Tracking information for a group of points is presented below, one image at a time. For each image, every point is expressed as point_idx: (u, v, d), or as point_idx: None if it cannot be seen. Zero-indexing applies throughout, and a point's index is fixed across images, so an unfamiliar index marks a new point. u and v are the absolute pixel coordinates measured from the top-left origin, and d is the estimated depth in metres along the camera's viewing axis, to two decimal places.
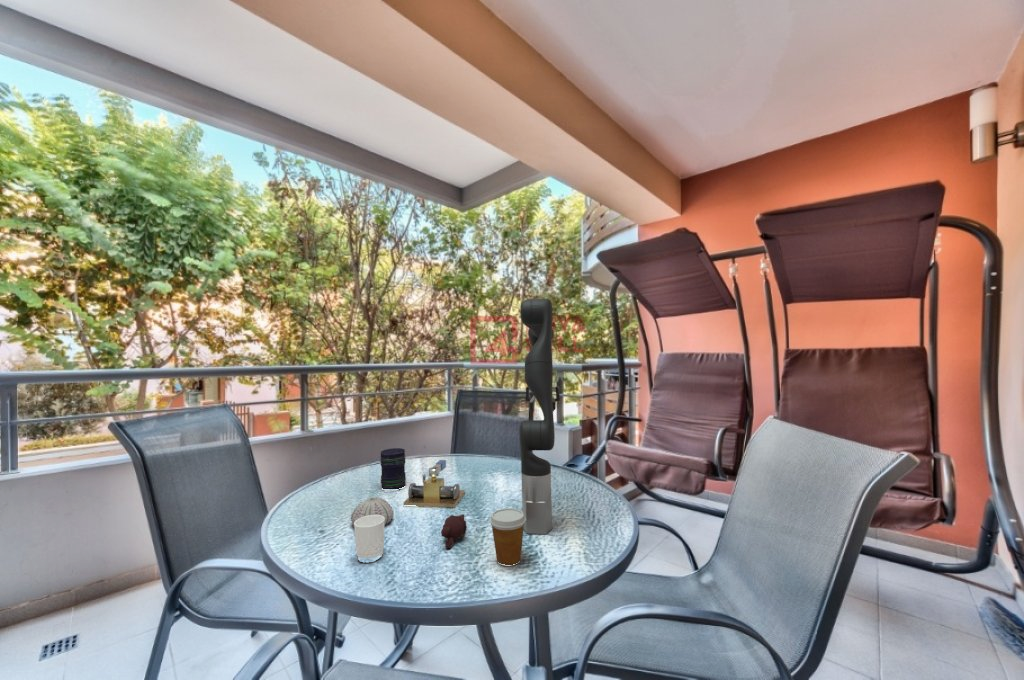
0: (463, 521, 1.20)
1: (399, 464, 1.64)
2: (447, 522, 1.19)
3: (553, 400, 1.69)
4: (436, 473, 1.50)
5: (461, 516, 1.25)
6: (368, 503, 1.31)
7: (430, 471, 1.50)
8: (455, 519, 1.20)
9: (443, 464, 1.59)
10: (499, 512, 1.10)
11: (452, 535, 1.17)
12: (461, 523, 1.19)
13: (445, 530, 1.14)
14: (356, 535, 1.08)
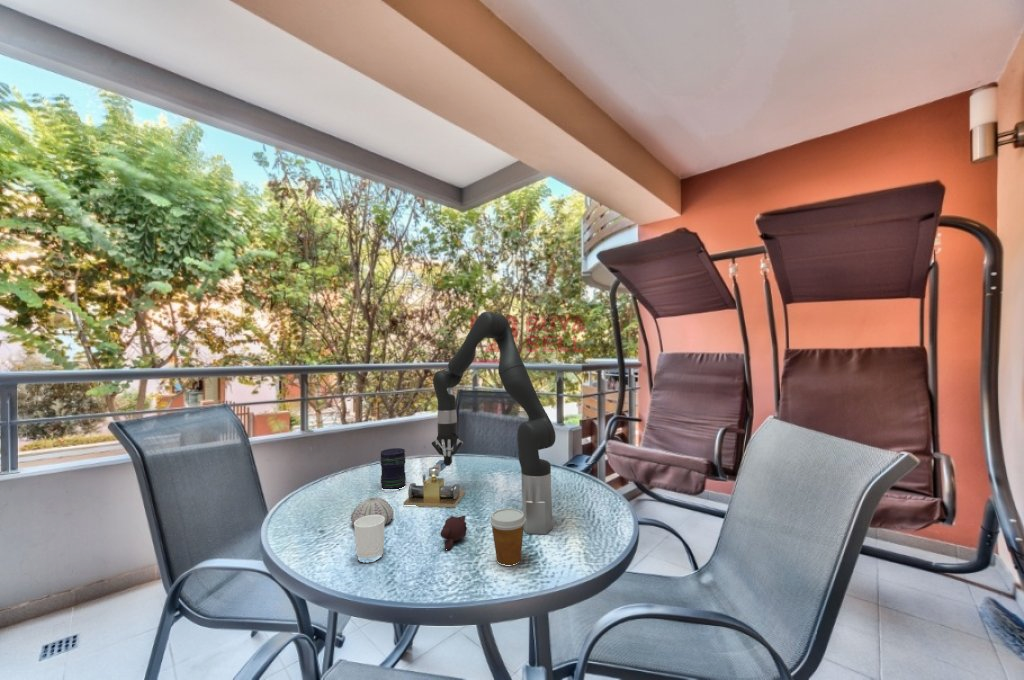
0: (463, 522, 1.19)
1: (399, 465, 1.64)
2: (447, 523, 1.18)
3: (448, 454, 1.58)
4: (436, 473, 1.50)
5: (461, 517, 1.24)
6: (368, 503, 1.31)
7: (430, 471, 1.50)
8: (455, 520, 1.19)
9: (443, 464, 1.59)
10: (499, 512, 1.10)
11: (452, 536, 1.16)
12: (461, 524, 1.18)
13: (444, 531, 1.14)
14: (356, 535, 1.08)
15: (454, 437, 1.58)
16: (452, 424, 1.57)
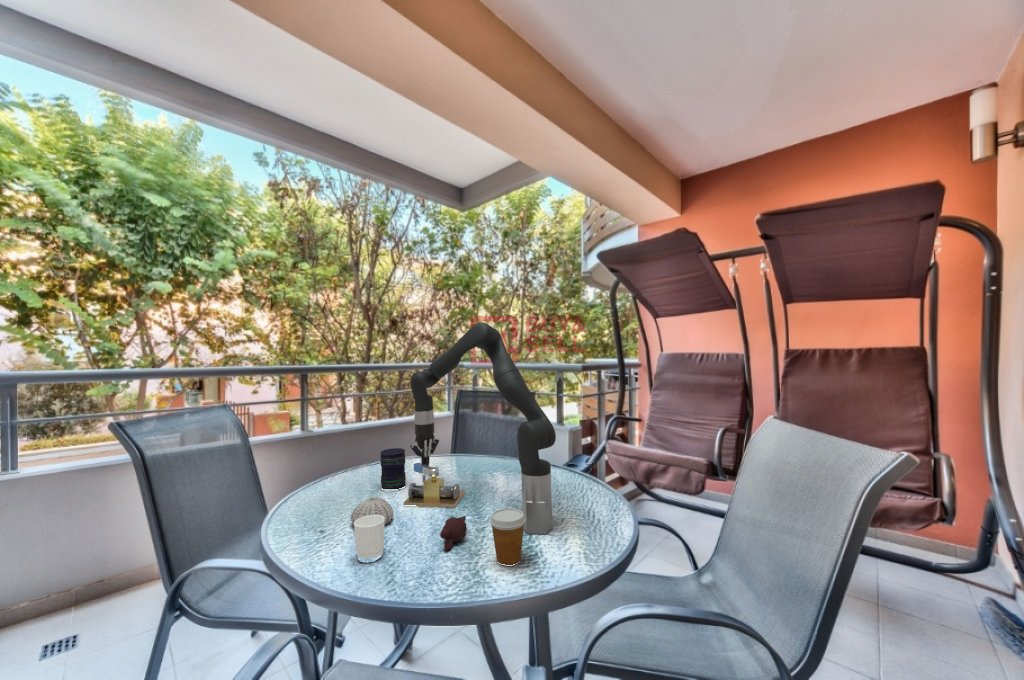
0: (463, 523, 1.19)
1: (399, 465, 1.64)
2: (447, 524, 1.18)
3: (428, 454, 1.59)
4: (438, 472, 1.51)
5: (462, 518, 1.23)
6: (368, 503, 1.31)
7: (434, 471, 1.50)
8: (455, 521, 1.18)
9: None
10: (499, 512, 1.10)
11: (451, 537, 1.16)
12: (461, 525, 1.18)
13: (444, 532, 1.13)
14: (356, 535, 1.08)
15: (432, 436, 1.61)
16: None
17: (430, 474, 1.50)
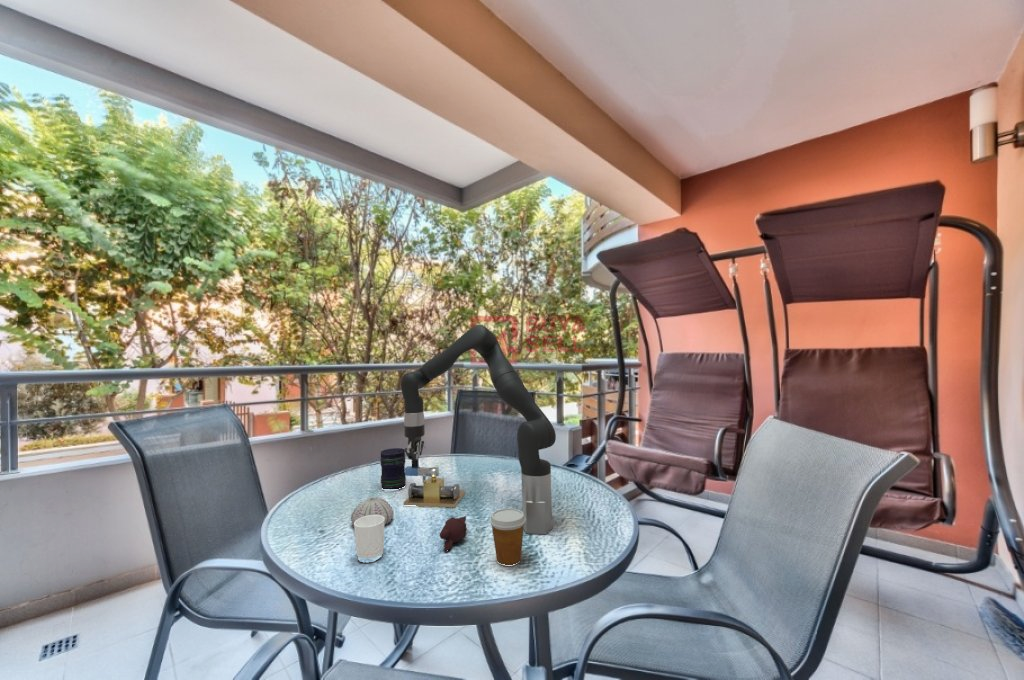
0: (463, 524, 1.19)
1: (399, 465, 1.64)
2: (447, 524, 1.18)
3: (418, 456, 1.56)
4: None
5: (462, 518, 1.23)
6: (368, 503, 1.31)
7: (437, 470, 1.50)
8: (455, 521, 1.18)
9: None
10: (499, 512, 1.10)
11: (451, 538, 1.15)
12: (461, 526, 1.18)
13: (444, 532, 1.13)
14: (356, 535, 1.08)
15: (420, 437, 1.59)
16: None
17: (432, 474, 1.49)
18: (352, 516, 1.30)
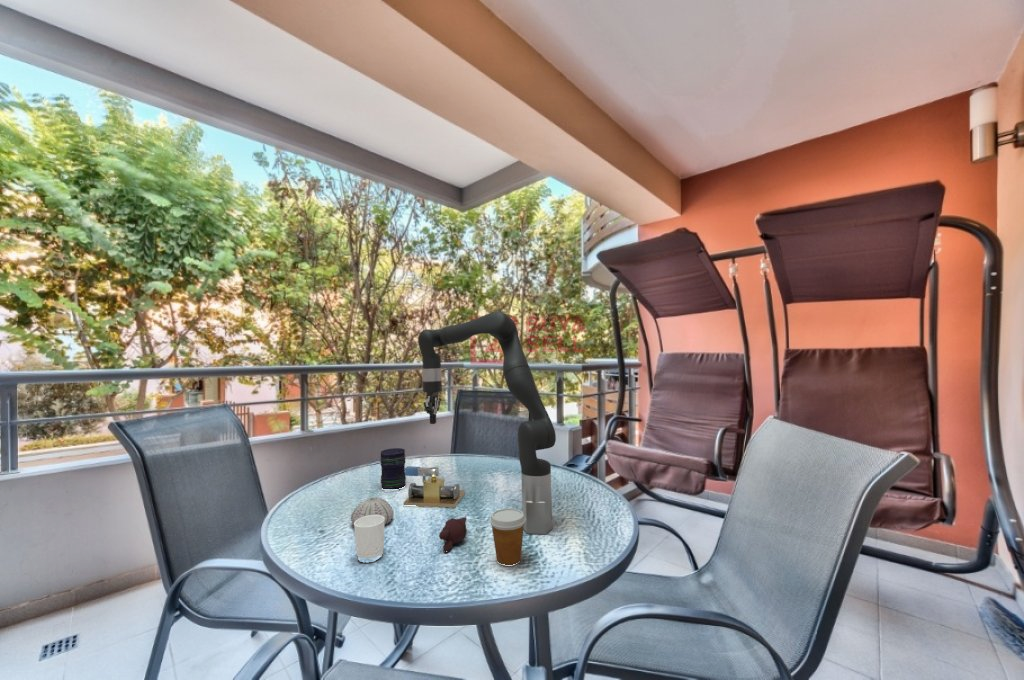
0: (463, 524, 1.18)
1: (399, 465, 1.64)
2: (446, 525, 1.17)
3: (436, 411, 1.61)
4: None
5: (462, 519, 1.23)
6: (368, 503, 1.31)
7: (437, 470, 1.50)
8: (455, 522, 1.17)
9: None
10: (499, 512, 1.10)
11: (451, 538, 1.15)
12: (461, 526, 1.17)
13: (443, 533, 1.12)
14: (356, 535, 1.08)
15: (437, 394, 1.64)
16: None
17: (432, 474, 1.49)
18: (352, 516, 1.30)
